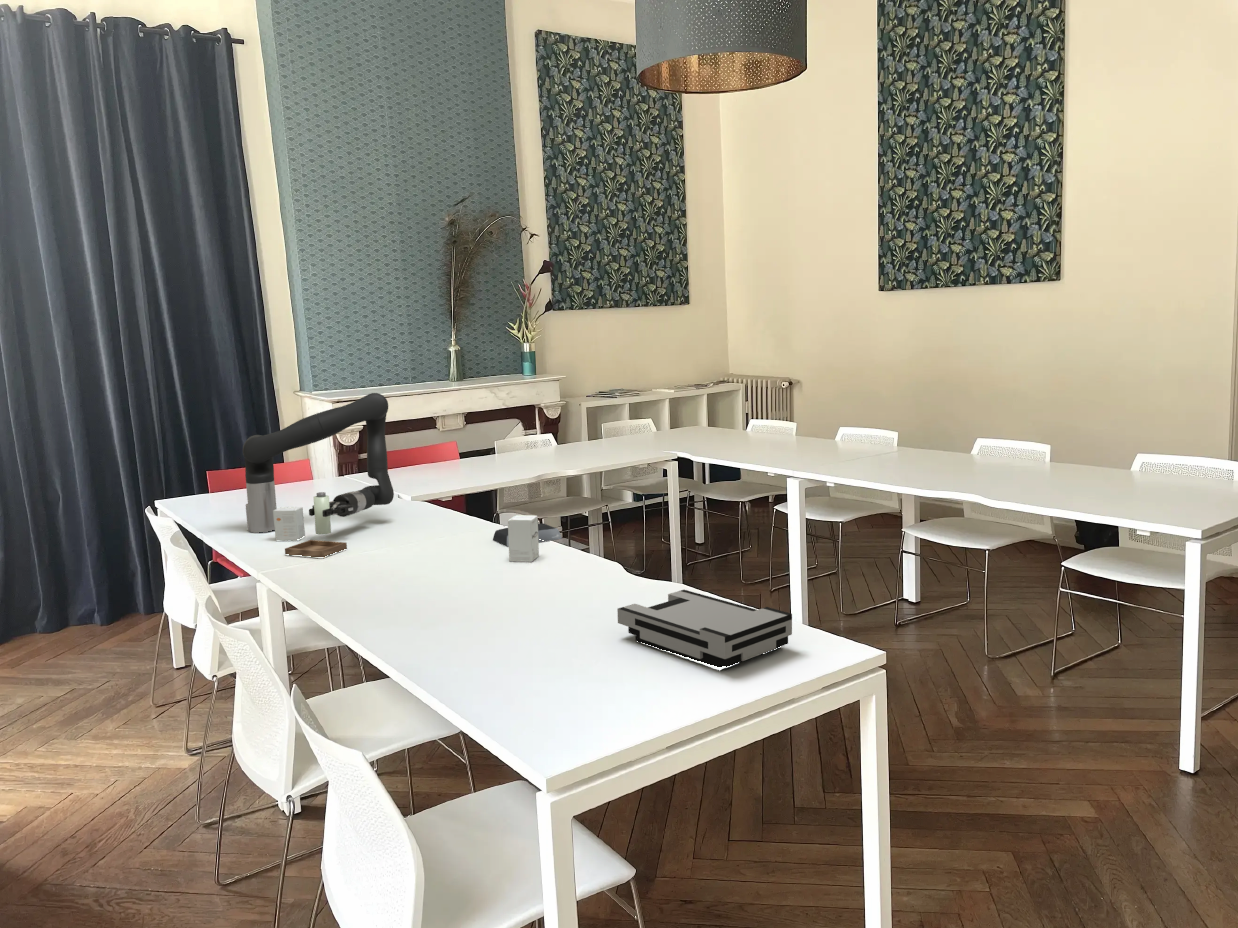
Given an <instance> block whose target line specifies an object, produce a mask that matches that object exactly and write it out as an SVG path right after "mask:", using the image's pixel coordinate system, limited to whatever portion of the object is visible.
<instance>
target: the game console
mask: <svg viewBox="0 0 1238 928" xmlns="http://www.w3.org/2000/svg"><path fill="white" fill-rule="evenodd" d="M667 600H668V601H666V602H665V601H664V602H661V603H659V604H658V603H657V604H655V605H651V606H648V607H647V606H644V605H641V604H638V603H632V604H628V605H625V606H622V607H617V611H616V612H617V624H620V625H622V626H626V627H628V628H627V629H628V630H627V631H628V634H630V635H632V636H633V635H634V636H635V642H636V641H638V642H642V643H645V644H648V645H651V646H654V647H657V648H659V649H662V650H666V651H670V652H672V653H676V654H679V655H682V656H684V657H689V658H691V659H694V660H697V661H701V662H704V663H707V664H710V665H714V666H717V667H722V666H726V667H727V666H730V665H733V664H735V663H738V662H740V663H741V662H744V661H746V660H750V659H751V658H755V657H758V656H760V655H761V654H763V653H766V652H768V651H771V650H774V649H776V648H778V647H780V646H781V647H783V646H785V645H788V644H789V636H792V635H793V614H792V613H791V612H790V613H789V612H787V611H784V610H779V609H775V608H772V607H768V606H765V607H763V608H760V609H755V608H752V607H748V606H745V605H741V604H739V603H734V602H731V601H727V600H724V599H719V598H715V597H714V596H713V597H712V596H709V595H705V594H701V593H699V592H695V591H691V590H687V589H681V590H678V591H674V592H671V593H668V594H667ZM638 642H637V643H638Z"/></svg>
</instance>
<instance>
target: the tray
mask: <svg viewBox="0 0 1238 928" xmlns="http://www.w3.org/2000/svg"><path fill="white" fill-rule="evenodd" d="M347 543H348V542H344V541H329V540H315V539H309V540H306V541H303V542H300V543H297V544H294V545H291V546H288V547H285V548H284V555H285V554H289V555H302V556H311V557H325V556H327V555H330V554H333V553H335V552H339V551H341V550H344V549H347V550H348V545H347ZM339 553H340V552H339Z"/></svg>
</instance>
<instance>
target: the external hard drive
mask: <svg viewBox="0 0 1238 928" xmlns="http://www.w3.org/2000/svg"><path fill="white" fill-rule="evenodd" d="M539 539H541V540H539ZM542 540H544V541H542ZM557 540H562V535H561V532H560V531H559V529H558V527H557V528H556V527H554V526H551V525H548V524H546V523H545V522H544V523H538V542H539V543H544V542H545V541H546V542H551V541H557ZM492 541H494V542H496V543H498V544H499V545H502V546H504V547H506V548H509V539H508V527H505V528H499V529H496V530H495V532H494V534H493V538H492Z"/></svg>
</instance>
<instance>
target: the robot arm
mask: <svg viewBox="0 0 1238 928" xmlns="http://www.w3.org/2000/svg"><path fill="white" fill-rule="evenodd" d="M388 411H389V402H388V399H387V398H386V396H384V395H383V394H381V393H377V392H371V393H368V394H366V395H365V396H363V397H361V398H359V399H357V400H355V401H353V402H350V403H347V404H345V405H342V406H338V407H334V408H331V409H327V410H324V411H320V412H317V413H314V414H311V415H309V416H306V417H304V418H301V419H299V420H298V421H295V422H293V423H291V424H290V425H287V426H286V427H284V428H282V429H280V430H277V431H275V432H271V433H268V434H264V435H260V434H255V435H251V436H249V437H248V438H247V439H246V441H244V443H243V445H242V455H243V458H244V466H245V467H244V468H245V469H244V471H245V486H246V488H245V489H246V497H247V499H246V500H247V503H246V504H245V512H246V526H247V531H248V532H251V533H253V534H254V533H255V534H258V533H259V532H263V533H269V532H268V531H271V532H273V531H272V530H275V526H274V515H273V511H274V510H276V509H278V508H277V498H276V497H277V496H276V485H275V469H274V457H276V456H279V455H280V454H283V453H286V452H288V451H289V450H294V449H296V448H301V447H305V446H308V445H312V444H315V443H318V442H320V441H323V440H326V439H328V438H330V437H332V436H335V435H336V434H339V433H340V432H342V431H344V430H346V429H348V428H349V427H351V426H353V425H354V426H355V425H356V424H359V423H364V422H365V426H366V432H367V433H366V436H367V437H366V438H367V439H366V440H367V442H366V443H367V445H366V465H367V466H366V467H367V468H366V470H367V476H368V478H369V479H375V480H376V481H377V484H376V485H375V484H374V485H368V486H364V487H363V488H362V489H359V490H355V491H348V492H344V493H340V494H338V495H336V496H335V497H334V498H333V500H332V501H329V506H330V508H329V509H325V510H323V517H327V516H330V517H331V516H338V517H341V518H345V517H349V516H351V515H355V514H357V513H360V512H363V511H365V510H368V509H370V508H371V507H373V506H382V505H384V506H385V505H390V503H392V502H393V501H394V496H395V492H394V487H393V485H392V481H391V478H390V475H389V469H388V468H389V467H388V466H389V464H388V452H387V444H386V420H387V413H388ZM308 516H311V517H313V516H315V514H314V504H313V505H312V508H309V509H308ZM259 534H260V533H259Z"/></svg>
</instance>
